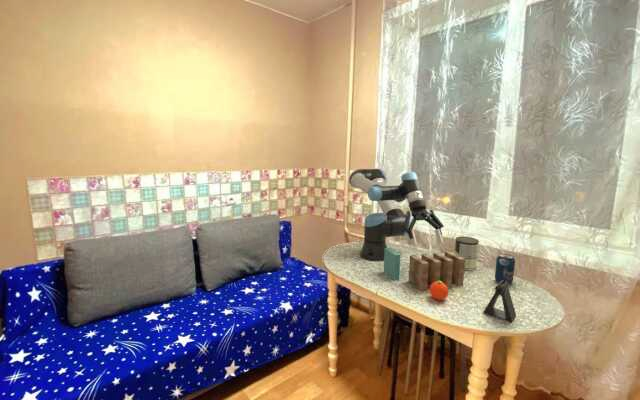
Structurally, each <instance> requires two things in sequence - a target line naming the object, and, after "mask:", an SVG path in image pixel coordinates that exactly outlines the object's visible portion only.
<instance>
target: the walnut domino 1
mask: <svg viewBox="0 0 640 400" xmlns="http://www.w3.org/2000/svg"><path fill="white" fill-rule="evenodd" d="M421 258H422V257H419V256H417V254H412V255H409V264H408V265H409V267H408V282H409V283H410V284H412V285H413V286H414V287H416V288H417V289H418V290H419V291H421V292H424V291H428V285H427V282H428V266H429V263H428V262H426V261H424V260H423V259H421Z"/></svg>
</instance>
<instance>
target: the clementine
mask: <svg viewBox="0 0 640 400" xmlns="http://www.w3.org/2000/svg"><path fill="white" fill-rule="evenodd" d="M448 288H449V287H447V286H446V285H445V284H444V283H443V282H442V281H437V282H434V283H432V284H431V286H429V293H430V295H431V297H433V299H434V300H437V301H438V300H439V301H442V300H445V299H446V298H447V297H448V295H449V289H448Z"/></svg>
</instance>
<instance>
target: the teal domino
mask: <svg viewBox="0 0 640 400" xmlns="http://www.w3.org/2000/svg"><path fill="white" fill-rule="evenodd" d="M400 268H401V254H400V253H398V252H397V251H395V249H392V248H391V247H387V248H385V252H384V260H383V273H384V274H386V275H387V276H388V277H389V278H390V279H391V280H392V281H394V282H395V281H400V275H401V269H400Z"/></svg>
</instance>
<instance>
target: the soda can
mask: <svg viewBox="0 0 640 400" xmlns="http://www.w3.org/2000/svg"><path fill="white" fill-rule="evenodd" d="M515 267H516V260H515V256H514V255H512V254H509V253H508V254H507V253H499V254H498V256H497V258H496V264H495V272H494V279H495V281H496V282H497V283H498V284H499V283H500V281H501V280H504V281H503V282H502V283H501V285H503V284H504V283H505V282H506V281H508V282H509V285H511V284H512V283H513V282H514V275H515Z"/></svg>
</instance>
